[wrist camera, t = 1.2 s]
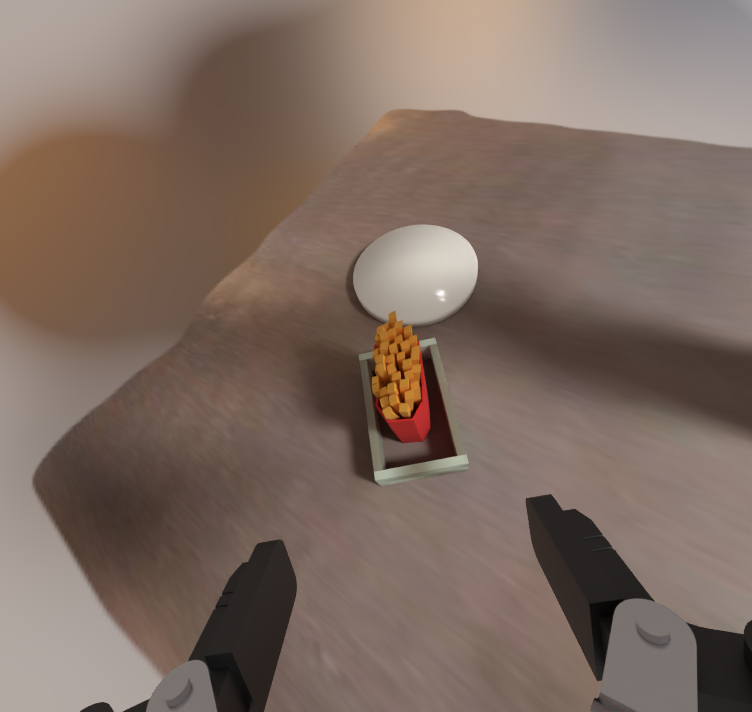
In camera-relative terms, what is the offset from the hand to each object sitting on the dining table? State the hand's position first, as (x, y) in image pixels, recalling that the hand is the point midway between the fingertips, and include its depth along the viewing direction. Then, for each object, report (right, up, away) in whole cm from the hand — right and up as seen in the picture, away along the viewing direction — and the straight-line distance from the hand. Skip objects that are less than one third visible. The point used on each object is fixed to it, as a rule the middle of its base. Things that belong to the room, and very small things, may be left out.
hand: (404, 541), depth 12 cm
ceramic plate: (+4, +16, +36) cm, 40 cm away
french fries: (+3, 0, +27) cm, 27 cm away
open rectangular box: (+3, 0, +27) cm, 27 cm away
